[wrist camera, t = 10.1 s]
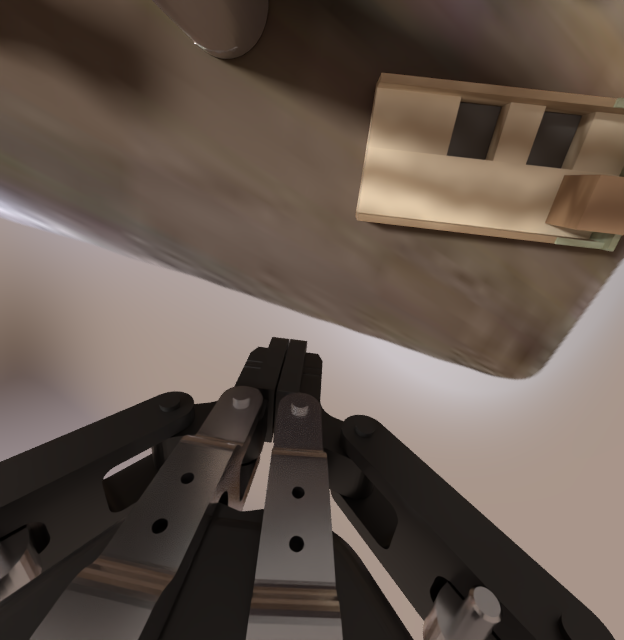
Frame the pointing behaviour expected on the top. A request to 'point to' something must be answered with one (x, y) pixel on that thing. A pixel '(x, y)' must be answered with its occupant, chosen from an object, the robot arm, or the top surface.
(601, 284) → the top surface
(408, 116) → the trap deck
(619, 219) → the walnut block
